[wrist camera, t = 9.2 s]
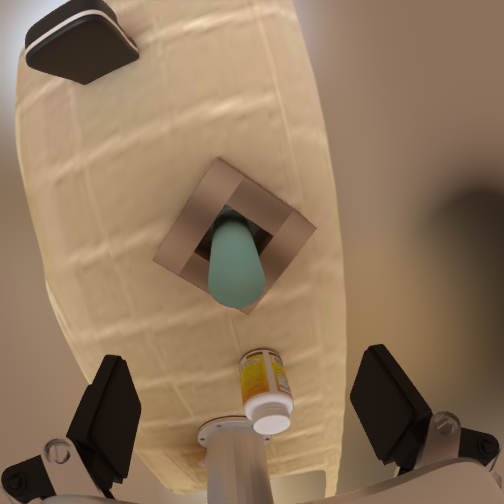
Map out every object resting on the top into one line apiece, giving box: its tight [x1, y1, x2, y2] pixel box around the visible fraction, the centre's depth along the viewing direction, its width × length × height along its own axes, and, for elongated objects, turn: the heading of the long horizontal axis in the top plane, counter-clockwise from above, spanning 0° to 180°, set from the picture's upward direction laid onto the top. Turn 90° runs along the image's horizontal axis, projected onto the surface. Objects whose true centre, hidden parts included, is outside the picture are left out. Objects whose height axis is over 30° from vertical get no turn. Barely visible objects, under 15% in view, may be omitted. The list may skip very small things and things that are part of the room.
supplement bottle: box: [239, 350, 294, 435], centre depth 30 cm, size 6×6×10 cm
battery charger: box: [25, 0, 139, 85], centre depth 15 cm, size 7×4×11 cm, turn 105°
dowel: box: [208, 210, 266, 308], centre depth 22 cm, size 3×3×12 cm
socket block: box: [153, 157, 316, 315], centre depth 25 cm, size 10×10×5 cm
